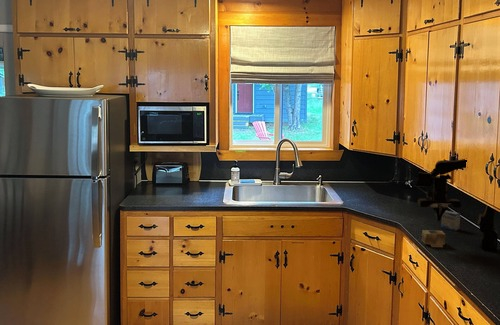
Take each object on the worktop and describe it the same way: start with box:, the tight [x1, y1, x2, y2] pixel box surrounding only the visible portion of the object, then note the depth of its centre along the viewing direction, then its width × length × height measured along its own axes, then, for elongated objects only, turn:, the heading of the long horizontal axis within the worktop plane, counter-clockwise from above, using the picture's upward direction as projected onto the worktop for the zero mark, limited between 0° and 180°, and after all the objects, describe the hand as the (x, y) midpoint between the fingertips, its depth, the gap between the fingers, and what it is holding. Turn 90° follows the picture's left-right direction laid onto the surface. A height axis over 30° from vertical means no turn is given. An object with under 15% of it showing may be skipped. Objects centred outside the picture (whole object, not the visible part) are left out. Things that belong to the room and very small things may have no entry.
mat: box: [429, 244, 444, 248], centre depth 264 cm, size 5×10×1 cm, turn 177°
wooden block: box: [421, 229, 446, 246], centre depth 263 cm, size 5×6×9 cm
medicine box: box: [440, 210, 461, 232], centre depth 289 cm, size 8×4×9 cm, turn 45°
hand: (438, 220), depth 262 cm, fingers closed
